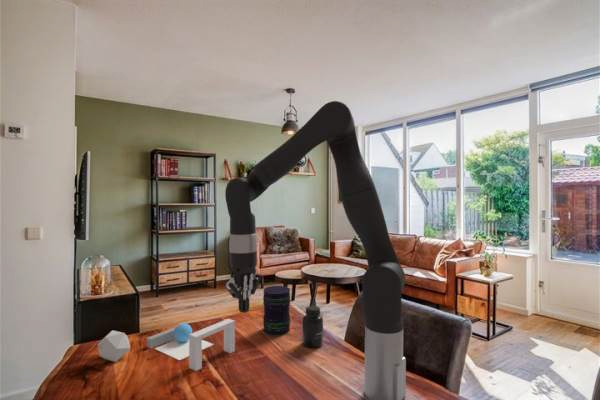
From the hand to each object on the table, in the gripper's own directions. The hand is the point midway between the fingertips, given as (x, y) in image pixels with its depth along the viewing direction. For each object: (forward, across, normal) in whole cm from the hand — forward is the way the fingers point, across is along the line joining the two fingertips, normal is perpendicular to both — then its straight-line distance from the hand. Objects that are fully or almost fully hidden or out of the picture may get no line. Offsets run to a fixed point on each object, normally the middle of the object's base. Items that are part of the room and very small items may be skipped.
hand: (244, 311), depth 95 cm
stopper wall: (+17, 0, +36) cm, 40 cm away
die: (+17, -17, +38) cm, 45 cm away
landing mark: (+17, 0, +27) cm, 32 cm away
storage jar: (+17, +28, +11) cm, 35 cm away
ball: (+14, +2, +31) cm, 34 cm away
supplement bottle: (+18, +26, -6) cm, 32 cm away
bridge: (+17, 0, +13) cm, 22 cm away
